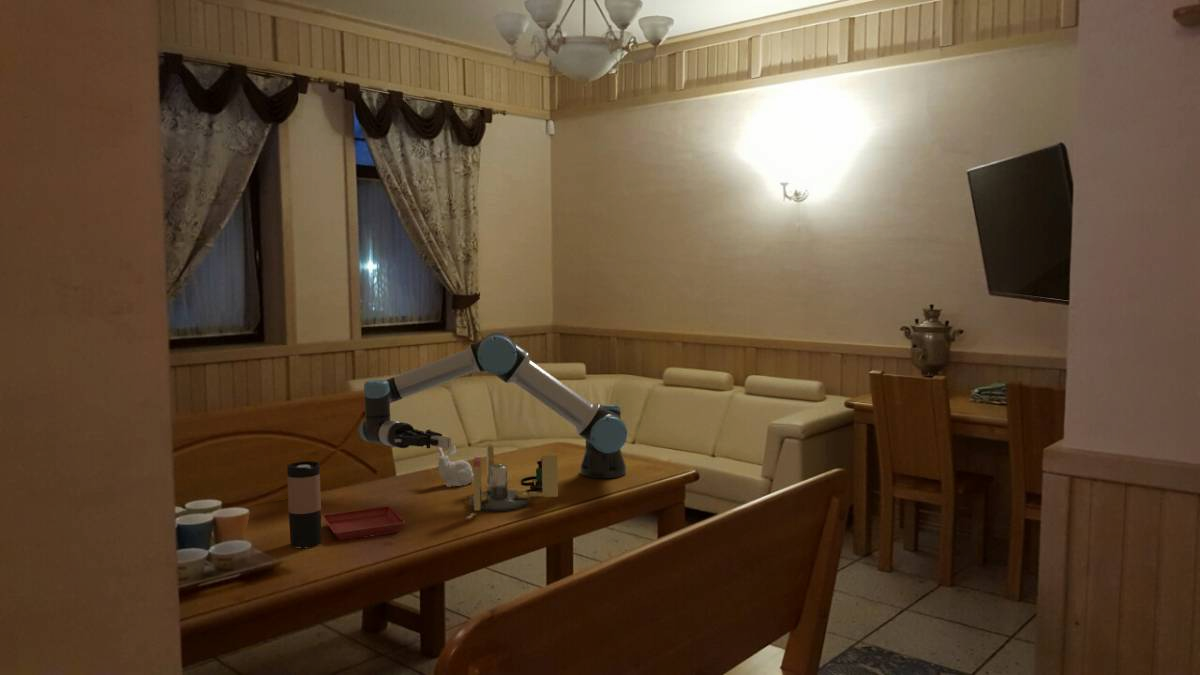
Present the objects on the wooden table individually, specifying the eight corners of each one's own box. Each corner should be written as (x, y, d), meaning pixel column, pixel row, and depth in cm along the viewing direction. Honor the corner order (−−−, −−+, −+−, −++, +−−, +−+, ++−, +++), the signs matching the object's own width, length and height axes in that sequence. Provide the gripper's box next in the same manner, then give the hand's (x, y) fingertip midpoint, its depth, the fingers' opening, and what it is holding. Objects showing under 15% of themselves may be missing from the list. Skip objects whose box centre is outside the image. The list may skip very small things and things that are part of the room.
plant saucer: (334, 545, 217) (334, 531, 217) (321, 526, 233) (321, 514, 233) (406, 534, 225) (406, 522, 225) (389, 517, 241) (389, 505, 241)
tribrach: (570, 494, 263) (569, 447, 261) (533, 524, 232) (532, 470, 231) (488, 489, 270) (487, 443, 269) (442, 517, 239) (441, 465, 238)
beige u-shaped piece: (474, 499, 249) (473, 451, 248) (488, 499, 250) (487, 451, 249) (469, 511, 237) (468, 461, 236) (484, 510, 237) (483, 460, 236)
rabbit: (440, 489, 271) (439, 451, 270) (434, 482, 280) (433, 445, 279) (478, 485, 276) (478, 447, 275) (471, 478, 284) (470, 442, 283)
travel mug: (294, 539, 220) (291, 461, 219) (325, 538, 221) (322, 460, 219) (286, 549, 212) (283, 468, 211) (318, 548, 213) (315, 467, 212)
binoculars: (522, 457, 270) (553, 455, 268) (526, 491, 271) (557, 489, 269) (514, 463, 262) (546, 461, 260) (518, 498, 262) (550, 496, 260)
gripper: (416, 443, 268) (467, 452, 252) (379, 450, 257) (429, 460, 242) (415, 418, 267) (466, 426, 252) (378, 425, 257) (428, 433, 241)
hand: (448, 443), depth 247 cm, fingers closed
